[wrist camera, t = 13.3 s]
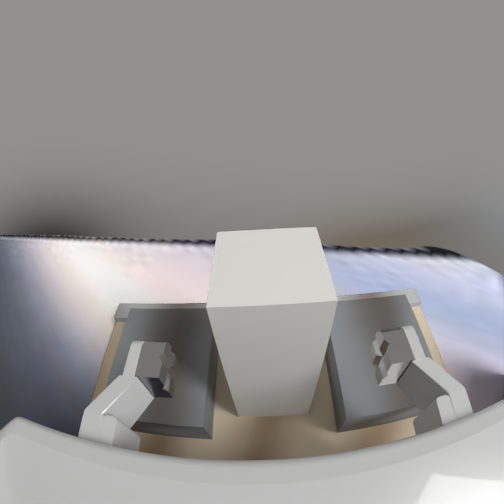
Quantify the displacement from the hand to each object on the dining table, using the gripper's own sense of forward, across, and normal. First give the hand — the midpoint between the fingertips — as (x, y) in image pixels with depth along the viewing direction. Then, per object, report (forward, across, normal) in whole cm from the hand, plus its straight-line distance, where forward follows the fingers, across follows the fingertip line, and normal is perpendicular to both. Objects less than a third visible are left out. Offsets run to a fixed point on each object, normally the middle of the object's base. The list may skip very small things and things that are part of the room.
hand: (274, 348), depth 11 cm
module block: (+2, 0, +7) cm, 7 cm away
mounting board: (+3, 0, +8) cm, 9 cm away
